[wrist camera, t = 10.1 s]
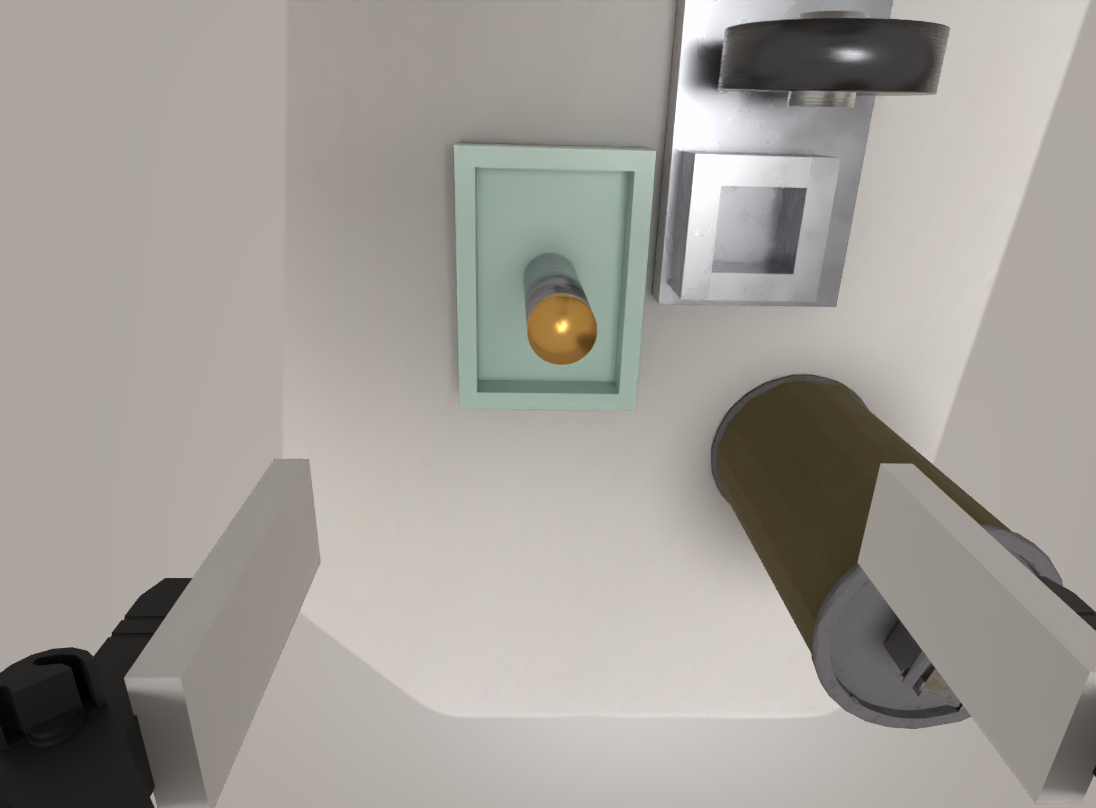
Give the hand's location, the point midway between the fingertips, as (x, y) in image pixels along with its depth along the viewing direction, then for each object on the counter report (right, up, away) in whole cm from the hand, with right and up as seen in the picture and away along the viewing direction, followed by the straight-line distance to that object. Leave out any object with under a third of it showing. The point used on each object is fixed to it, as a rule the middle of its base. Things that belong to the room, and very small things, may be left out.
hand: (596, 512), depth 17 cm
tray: (-1, +10, +24) cm, 26 cm away
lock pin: (-1, +9, +23) cm, 25 cm away
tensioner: (+10, +16, +22) cm, 29 cm away
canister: (+15, 0, +29) cm, 33 cm away
